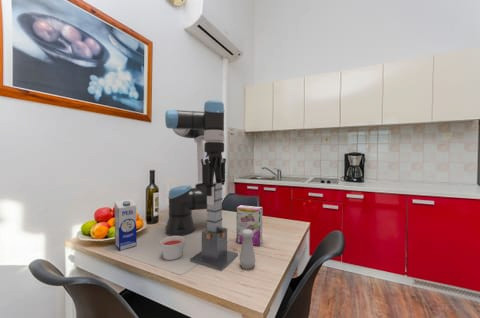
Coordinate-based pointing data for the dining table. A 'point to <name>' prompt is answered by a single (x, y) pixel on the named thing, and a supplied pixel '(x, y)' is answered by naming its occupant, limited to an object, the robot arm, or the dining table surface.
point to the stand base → (214, 250)
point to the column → (215, 210)
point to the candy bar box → (249, 223)
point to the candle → (172, 247)
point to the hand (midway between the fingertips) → (214, 202)
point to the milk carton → (125, 224)
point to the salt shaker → (247, 250)
